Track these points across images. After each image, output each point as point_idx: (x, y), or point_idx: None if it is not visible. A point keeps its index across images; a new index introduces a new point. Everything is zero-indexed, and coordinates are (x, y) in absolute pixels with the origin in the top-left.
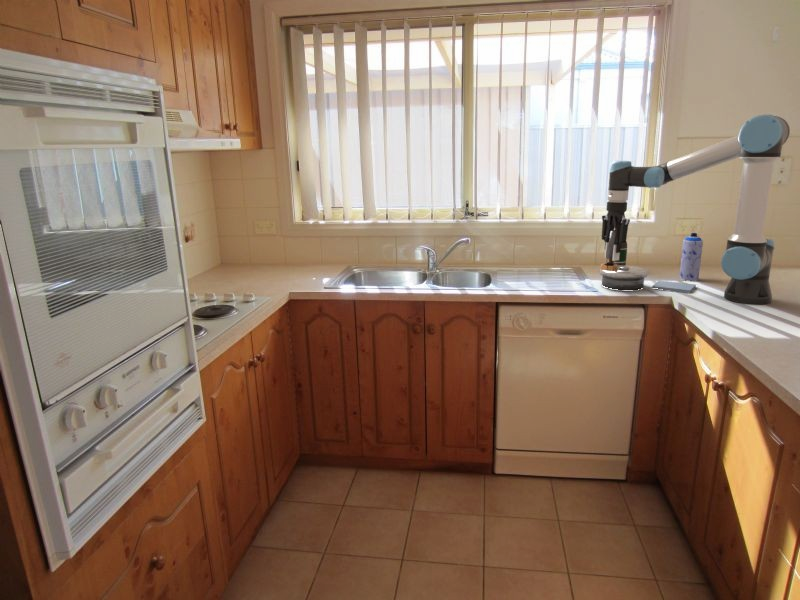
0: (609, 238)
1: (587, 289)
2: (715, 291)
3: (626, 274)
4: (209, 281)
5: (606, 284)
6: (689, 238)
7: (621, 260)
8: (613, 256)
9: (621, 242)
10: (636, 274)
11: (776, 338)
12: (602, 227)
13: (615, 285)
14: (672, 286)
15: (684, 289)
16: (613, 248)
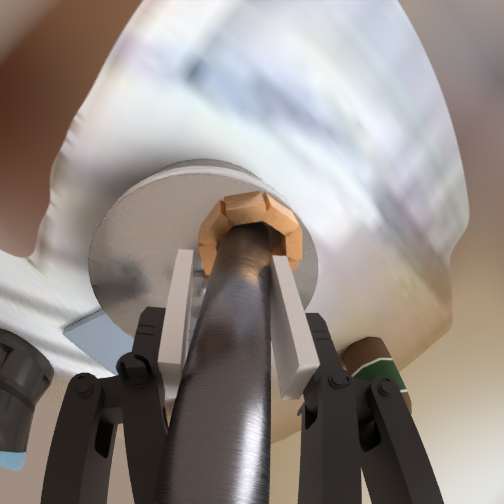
0: (256, 417)
1: (245, 70)
2: (79, 369)
3: (99, 226)
4: None
5: (212, 165)
6: None
7: (357, 377)
8: (180, 271)
9: (71, 389)
10: (89, 266)
11: None
12: (434, 484)
13: None
14: (109, 336)
15: (73, 332)
16: (183, 326)
